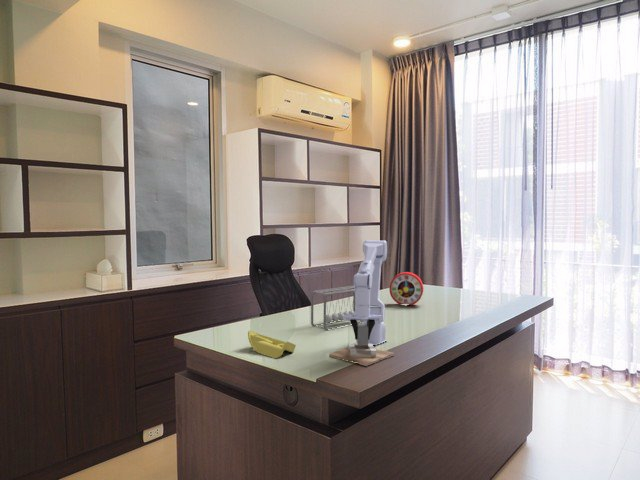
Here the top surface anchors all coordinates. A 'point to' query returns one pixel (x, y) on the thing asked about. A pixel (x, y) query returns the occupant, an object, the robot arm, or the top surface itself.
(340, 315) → the newton's cradle
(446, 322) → the top surface
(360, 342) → the grey rectangular block
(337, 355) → the duct base
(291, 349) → the plastic component
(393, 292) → the toy clock
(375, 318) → the robot arm
